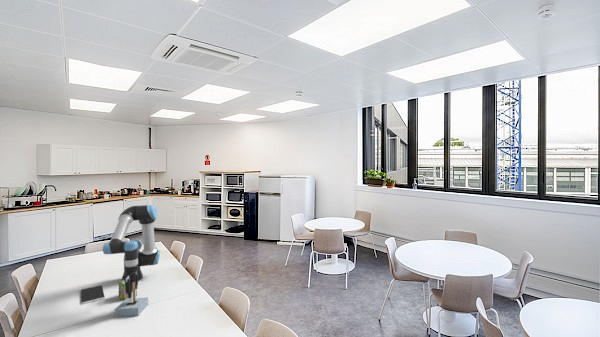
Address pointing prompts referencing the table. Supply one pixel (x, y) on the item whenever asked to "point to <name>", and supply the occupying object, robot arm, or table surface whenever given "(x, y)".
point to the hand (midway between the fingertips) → (132, 300)
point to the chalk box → (123, 290)
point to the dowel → (133, 294)
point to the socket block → (131, 308)
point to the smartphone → (92, 294)
